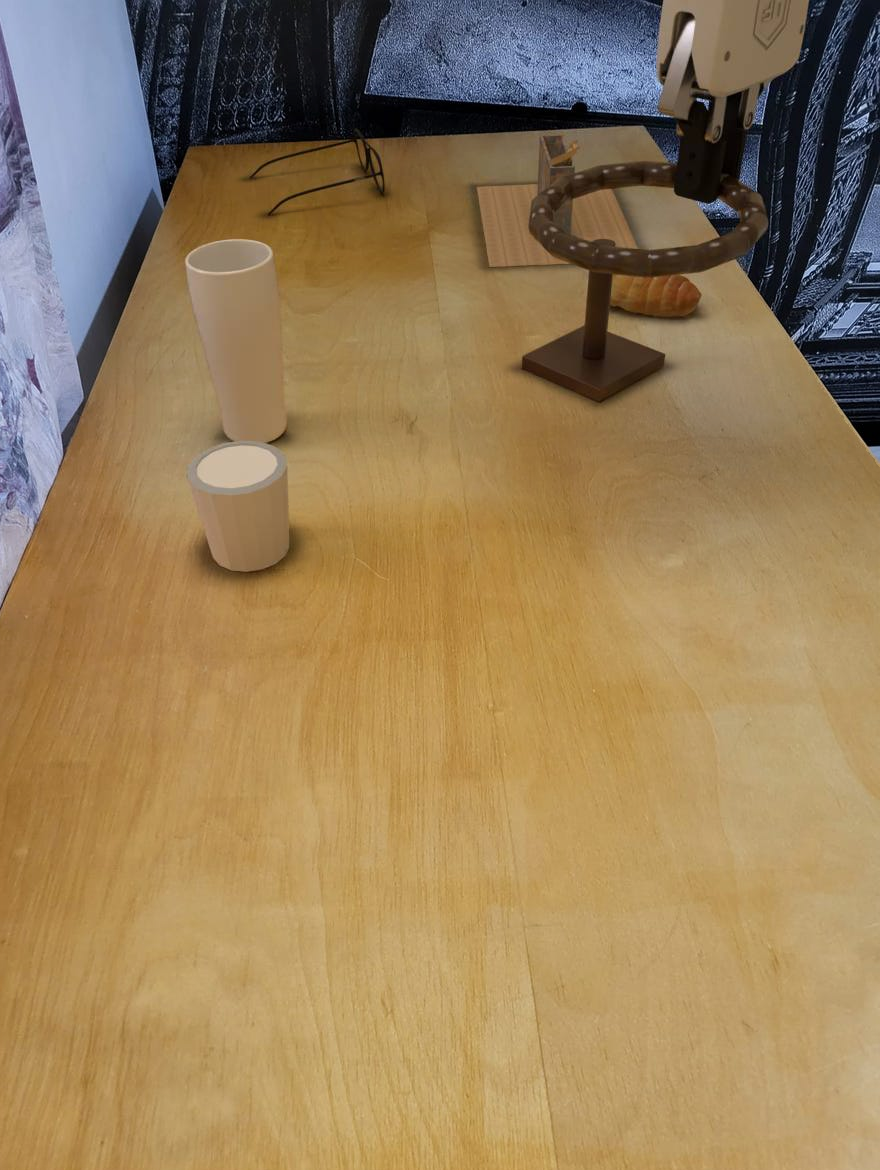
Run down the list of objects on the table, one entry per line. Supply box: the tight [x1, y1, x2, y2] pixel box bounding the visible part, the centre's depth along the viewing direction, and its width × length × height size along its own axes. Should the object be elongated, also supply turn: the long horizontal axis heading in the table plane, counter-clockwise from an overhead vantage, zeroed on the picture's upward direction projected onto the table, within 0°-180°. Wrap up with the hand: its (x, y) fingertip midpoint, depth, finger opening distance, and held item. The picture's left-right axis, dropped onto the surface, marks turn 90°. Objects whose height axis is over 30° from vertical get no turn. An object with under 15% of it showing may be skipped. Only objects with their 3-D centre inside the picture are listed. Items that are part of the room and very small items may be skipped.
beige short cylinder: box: [186, 440, 290, 573], centre depth 73 cm, size 7×7×7 cm
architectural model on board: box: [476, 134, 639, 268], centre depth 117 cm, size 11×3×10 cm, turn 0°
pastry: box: [610, 274, 702, 318], centre depth 101 cm, size 9×7×4 cm
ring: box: [528, 160, 769, 278], centre depth 69 cm, size 15×16×2 cm
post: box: [521, 239, 666, 403], centre depth 90 cm, size 9×9×11 cm
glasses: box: [249, 128, 386, 216], centre depth 131 cm, size 14×15×5 cm
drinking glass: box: [184, 238, 288, 444], centre depth 83 cm, size 7×7×15 cm
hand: (705, 192), depth 72 cm, fingers closed on ring, 1 cm apart
